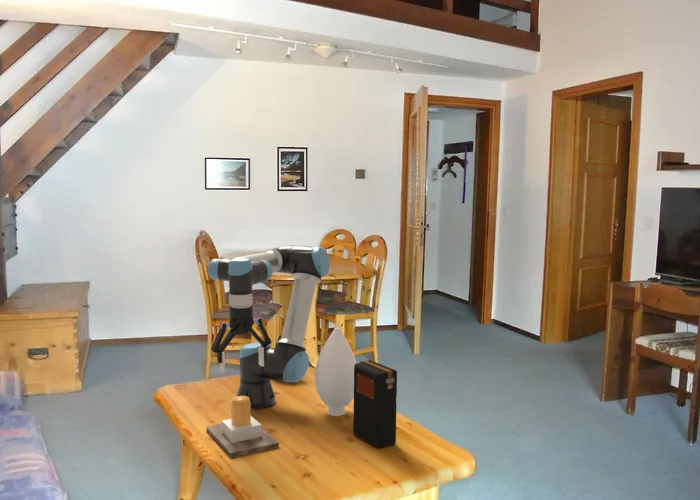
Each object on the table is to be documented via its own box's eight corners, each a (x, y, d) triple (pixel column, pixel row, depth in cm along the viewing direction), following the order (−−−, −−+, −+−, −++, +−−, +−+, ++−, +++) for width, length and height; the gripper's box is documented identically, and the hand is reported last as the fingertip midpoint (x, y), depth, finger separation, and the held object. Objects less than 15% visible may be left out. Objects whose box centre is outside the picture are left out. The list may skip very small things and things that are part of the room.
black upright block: (399, 444, 193) (400, 369, 191) (378, 450, 188) (379, 373, 186) (370, 428, 206) (371, 358, 204) (349, 434, 201) (350, 362, 199)
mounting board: (250, 422, 211) (250, 418, 211) (278, 447, 190) (278, 442, 190) (206, 430, 202) (206, 426, 202) (230, 457, 182) (230, 453, 182)
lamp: (309, 408, 225) (309, 317, 221) (347, 403, 231) (348, 314, 228) (324, 423, 210) (324, 326, 207) (364, 417, 216) (366, 322, 213)
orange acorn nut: (246, 417, 200) (245, 394, 199) (252, 423, 195) (252, 400, 194) (229, 421, 197) (229, 397, 196) (235, 427, 192) (235, 403, 191)
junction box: (250, 426, 203) (250, 400, 202) (261, 436, 194) (261, 410, 194) (221, 432, 198) (221, 405, 197) (232, 442, 189) (231, 415, 189)
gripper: (271, 299, 204) (272, 359, 206) (200, 308, 191) (201, 372, 193) (280, 303, 198) (281, 365, 200) (207, 312, 185) (209, 378, 187)
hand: (242, 368), depth 197 cm, fingers open, 13 cm apart
